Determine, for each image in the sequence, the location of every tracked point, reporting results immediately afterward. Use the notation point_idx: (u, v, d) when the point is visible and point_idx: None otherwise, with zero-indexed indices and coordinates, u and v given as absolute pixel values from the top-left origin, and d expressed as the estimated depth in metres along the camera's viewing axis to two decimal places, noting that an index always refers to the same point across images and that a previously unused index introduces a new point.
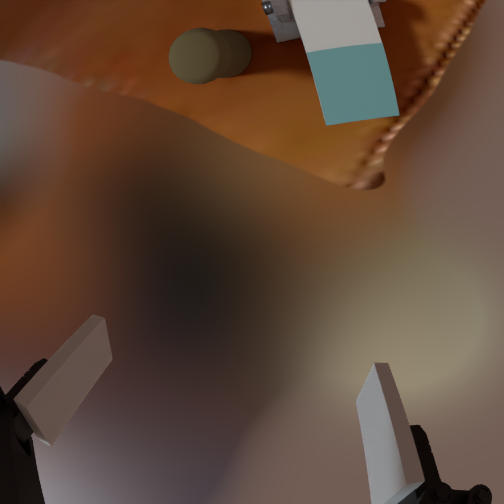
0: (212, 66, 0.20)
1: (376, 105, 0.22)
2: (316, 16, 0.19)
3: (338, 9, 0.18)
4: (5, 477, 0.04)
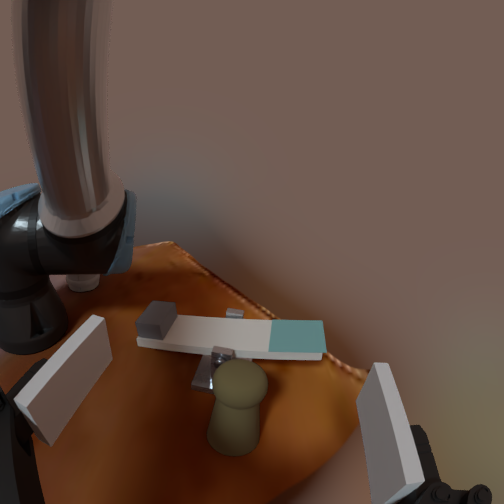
0: (258, 367, 0.26)
1: (315, 328, 0.38)
2: (242, 340, 0.37)
3: (242, 331, 0.39)
4: (5, 477, 0.04)
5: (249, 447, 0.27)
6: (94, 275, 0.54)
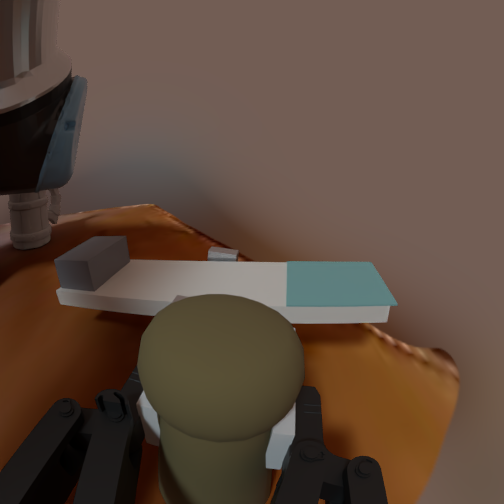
0: (274, 312, 0.09)
1: (363, 271, 0.21)
2: (234, 290, 0.20)
3: (234, 277, 0.22)
4: (102, 493, 0.05)
5: None
6: (42, 227, 0.37)
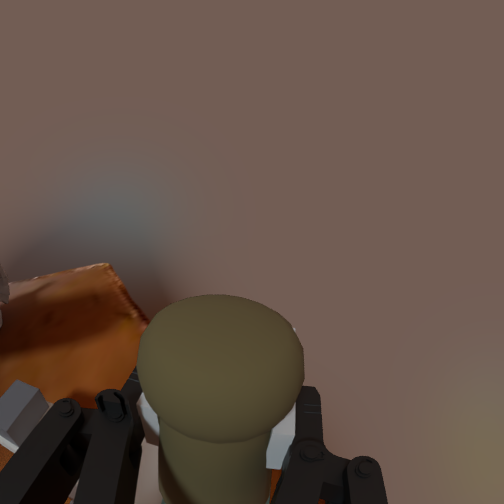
0: (273, 313, 0.09)
1: None
2: None
3: None
4: (102, 493, 0.05)
5: None
6: None
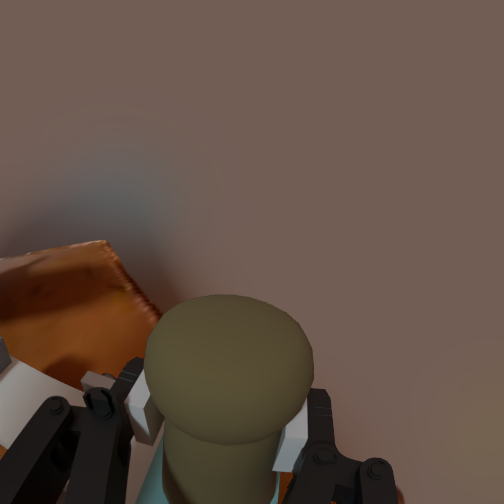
0: (282, 313, 0.09)
1: None
2: None
3: None
4: (92, 491, 0.05)
5: None
6: None
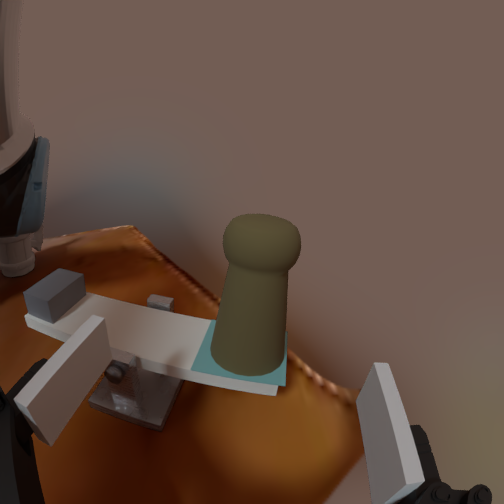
0: (286, 220, 0.20)
1: None
2: (157, 345, 0.22)
3: (162, 330, 0.24)
4: (5, 477, 0.04)
5: (273, 361, 0.21)
6: (26, 257, 0.39)
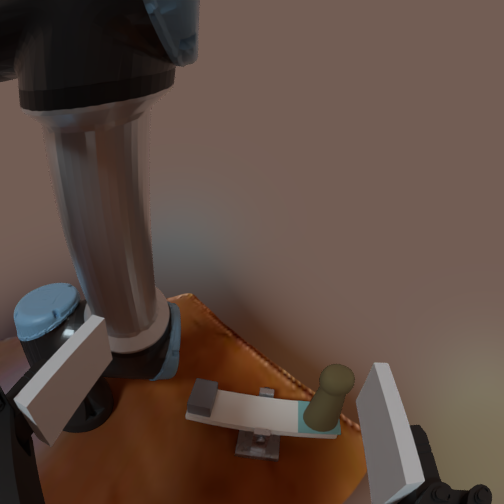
0: (348, 368, 0.39)
1: None
2: (276, 421, 0.41)
3: (275, 411, 0.43)
4: (5, 477, 0.04)
5: (335, 424, 0.40)
6: None
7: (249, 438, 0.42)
